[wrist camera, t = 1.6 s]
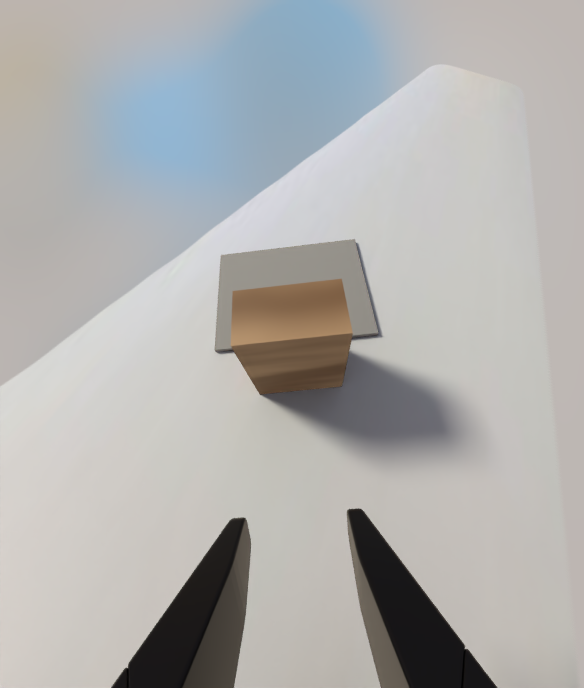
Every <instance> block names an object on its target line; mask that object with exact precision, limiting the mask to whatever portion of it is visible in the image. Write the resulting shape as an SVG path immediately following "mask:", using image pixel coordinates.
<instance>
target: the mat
mask: <svg viewBox="0 0 584 688" xmlns="http://www.w3.org/2000/svg"><path fill="white" fill-rule="evenodd" d="M334 279H342V282H343V287H344V292H345V297H346V302H347V307H348V312H349V317H350V322H351V327H352V332H353V335H352V338H354V337H363V336H373V335H378V330H377V326H376V322H375V318H374V314H373V310H372V306H371V302H370V298H369V294H368V290H367V286H366V282H365V278H364V274H363V270H362V266H361V262H360V258H359V254H358V250H357V246H356V242H355V239H352V240H344V241H335V242H327V243H319V244H310V245H302V246H294V247H285V248H277V249H269V250H260V251H252V252H244V253H235V254H227V255H221V261H220V276H219V292H218V307H217V322H216V338H215V351H216V352H220V351H230V350H233V349H232V347H231V321H232V293H233V291H237V290H246V289H255V288H263V287H272V286H281V285H290V284H299V283H307V282H316V281H325V280H334Z"/></svg>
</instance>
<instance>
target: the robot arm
mask: <svg viewBox="0 0 584 688" xmlns="http://www.w3.org/2000/svg"><path fill="white" fill-rule="evenodd" d="M347 523H348V535H349V542H350V549H351V555H352V561H353V567H354V573H355V579H356V585H357V591H358V597H359V602H360V608H361V612H362V616H363V620H364V624H365V628H366V632H367V636H368V640H369V643H370V647H371V651H372V655H373V659H374V663H375V666H376V670H377V674H378V678H379V682H380V686H381V688H497V686H496V685H495V684H494V683H493V681H492V680H491V679H490V678H489V676H488V675H487V674H486V672H485V671H484V670H483V668H482V667H481V666H480V664H479V663H478V662H477V660H476V659H475V658H474V657H473V655H472V654H471V653H470V651H469V650H468V649H465V645H464V644H463V642H462V641H461V640H460V638H459V637H458V636H457V634H456V633H455V632H454V630H453V629H452V628H451V626H450V625H449V624H448V622H447V621H446V620H445V618H444V617H443V616H442V614H441V613H440V612H439V610H438V609H437V608H436V606H435V605H434V604H433V602H432V601H431V600H430V599H429V597H428V596H427V595H426V593H425V592H424V591H423V589H422V588H421V587H420V585H419V584H418V583H417V581H416V580H415V579H414V577H413V576H412V575H411V573H410V572H409V571H408V569H407V568H406V567H405V565H404V564H403V563H402V561H401V560H400V559H399V557H398V556H397V555H396V553H395V552H394V551H393V550H392V548H391V547H390V546H389V544H388V543H387V542H386V540H385V539H384V538H383V536H382V535H381V534H380V532H379V531H378V530H377V528H376V527H375V526H374V524H373V523H372V522H371V520H370V519H369V518H368V516H367V515H366V514H365V512H364V511H363V510H362V509H349V510H347ZM250 553H251V539H250V534H249V529H248V524H247V520H246V518H233V519H231V520H230V521H229V522H228V524H227V525H226V527H225V528H224V529H223V531H222V532H221V534H220V535H219V537H218V538H217V539H216V541H215V542H214V544H213V545H212V546H211V548H210V549H209V551H208V552H207V553H206V555H205V556H204V558H203V559H202V561H201V562H200V563H199V565H198V566H197V568H196V569H195V570H194V572H193V573H192V575H191V576H190V577H189V579H188V580H187V582H186V583H185V585H184V586H183V587H182V589H181V590H180V592H179V593H178V594H177V596H176V597H175V599H174V600H173V601H172V603H171V604H170V606H169V607H168V608H167V610H166V611H165V613H164V614H163V616H162V617H161V618H160V620H159V621H158V623H157V624H156V625H155V627H154V628H153V630H152V631H151V632H150V634H149V635H148V637H147V638H146V640H145V641H144V642H143V644H142V645H141V647H140V648H139V649H138V651H137V652H136V654H135V655H134V656H133V658H132V659H131V661H130V662H129V664H128V668H125V669H124V670H123V672H122V673H121V675H120V676H119V677H118V679H117V680H116V682H115V683H114V684H113V686H112V687H111V688H234V683H235V677H236V671H237V665H238V659H239V653H240V647H241V641H242V635H243V629H244V623H245V615H246V605H247V592H248V579H249V566H250Z"/></svg>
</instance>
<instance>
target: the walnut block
mask: <svg viewBox="0 0 584 688" xmlns="http://www.w3.org/2000/svg"><path fill="white" fill-rule="evenodd" d="M352 335H353V332H352V327H351V322H350V317H349V312H348V307H347V302H346V297H345V292H344V287H343V282H342V279H334V280H325V281H316V282H307V283H299V284H290V285H281V286H272V287H263V288H255V289H246V290H237V291H233V293H232V321H231V347H232V349H233V351H234V352H235V354H236V356H237V357H238V359H239V361H240V362H241V364H242V366H243V367H244V369H245V371H246V372H247V374H248V376H249V377H250V379H251V381H252V382H253V384H254V386H255V387H256V389H257V390H258V392H259V394H269V393H279V392H290V391H300V390H310V389H320V388H330V387H341V386H342V383H343V378H344V373H345V369H346V364H347V359H348V354H349V349H350V344H351V339H352Z"/></svg>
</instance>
